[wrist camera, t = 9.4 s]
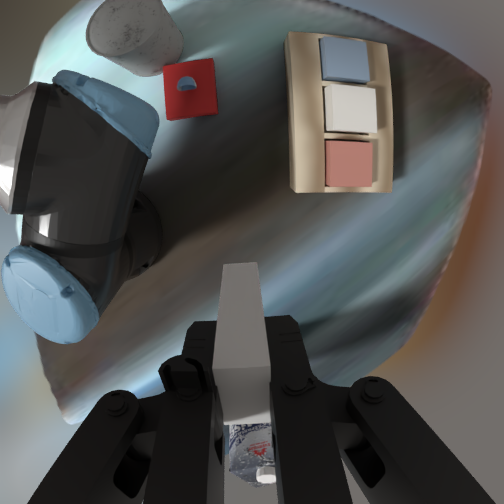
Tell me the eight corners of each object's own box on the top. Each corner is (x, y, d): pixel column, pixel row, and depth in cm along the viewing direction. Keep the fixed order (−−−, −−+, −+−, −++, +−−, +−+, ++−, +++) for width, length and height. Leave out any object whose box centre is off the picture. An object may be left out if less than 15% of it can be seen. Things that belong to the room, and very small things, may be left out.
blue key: (320, 80, 32) (327, 76, 29) (317, 43, 30) (323, 36, 27) (360, 84, 32) (369, 81, 29) (357, 47, 30) (365, 42, 27)
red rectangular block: (167, 70, 34) (155, 59, 28) (214, 63, 34) (209, 50, 28) (171, 120, 37) (159, 117, 31) (218, 114, 37) (214, 109, 31)
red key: (323, 183, 37) (330, 186, 34) (323, 140, 35) (330, 140, 32) (362, 183, 37) (371, 186, 34) (363, 142, 35) (372, 143, 32)
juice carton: (295, 359, 53) (322, 482, 28) (247, 377, 54) (252, 497, 29) (278, 328, 50) (303, 464, 25) (226, 348, 51) (221, 480, 26)
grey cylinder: (117, 77, 33) (77, 60, 22) (131, 23, 30) (98, -7, 18) (176, 77, 34) (151, 55, 23) (190, 22, 31) (172, -15, 19)
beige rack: (289, 186, 41) (296, 192, 36) (283, 43, 33) (288, 31, 28) (376, 186, 41) (391, 192, 36) (372, 52, 33) (386, 44, 28)
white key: (326, 130, 33) (333, 130, 30) (324, 87, 31) (331, 83, 28) (367, 133, 33) (377, 133, 30) (365, 91, 31) (375, 88, 28)
